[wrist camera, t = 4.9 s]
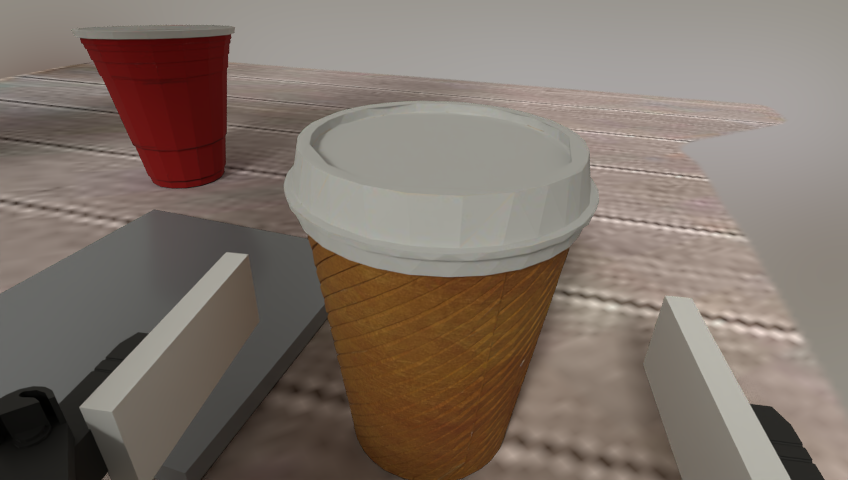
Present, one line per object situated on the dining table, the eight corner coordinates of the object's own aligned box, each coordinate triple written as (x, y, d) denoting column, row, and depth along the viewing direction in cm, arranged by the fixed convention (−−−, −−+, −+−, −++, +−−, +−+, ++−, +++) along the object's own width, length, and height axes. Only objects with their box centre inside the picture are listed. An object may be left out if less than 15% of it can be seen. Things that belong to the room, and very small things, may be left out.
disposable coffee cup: (443, 592, 15) (472, 250, 9) (266, 418, 21) (214, 133, 15) (588, 412, 21) (660, 138, 16) (422, 315, 27) (429, 85, 21)
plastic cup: (252, 148, 49) (233, 13, 43) (259, 192, 40) (235, 29, 34) (127, 158, 46) (87, 14, 40) (104, 208, 37) (48, 32, 31)
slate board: (-118, 382, 22) (-129, 364, 21) (157, 222, 35) (154, 209, 35) (191, 491, 18) (185, 473, 17) (369, 264, 31) (368, 250, 31)
